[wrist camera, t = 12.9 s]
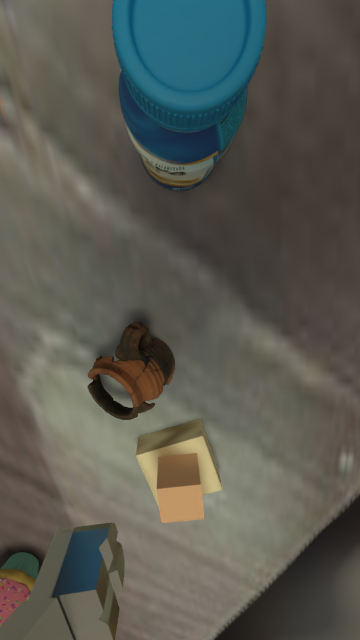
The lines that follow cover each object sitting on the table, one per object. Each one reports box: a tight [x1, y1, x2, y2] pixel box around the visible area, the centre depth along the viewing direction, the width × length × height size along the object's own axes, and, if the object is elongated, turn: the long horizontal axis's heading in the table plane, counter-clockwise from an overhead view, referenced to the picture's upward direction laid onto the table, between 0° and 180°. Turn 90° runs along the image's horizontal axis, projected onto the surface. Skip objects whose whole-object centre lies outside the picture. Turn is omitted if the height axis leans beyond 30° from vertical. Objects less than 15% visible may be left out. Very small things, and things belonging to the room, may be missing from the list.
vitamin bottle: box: [112, 0, 266, 191], centre depth 22 cm, size 8×8×20 cm
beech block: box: [136, 419, 222, 506], centre depth 41 cm, size 9×9×4 cm
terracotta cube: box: [157, 453, 204, 523], centre depth 36 cm, size 5×5×5 cm
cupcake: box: [0, 552, 39, 626], centre depth 41 cm, size 9×8×12 cm
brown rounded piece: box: [88, 322, 175, 420], centre depth 36 cm, size 12×10×8 cm
